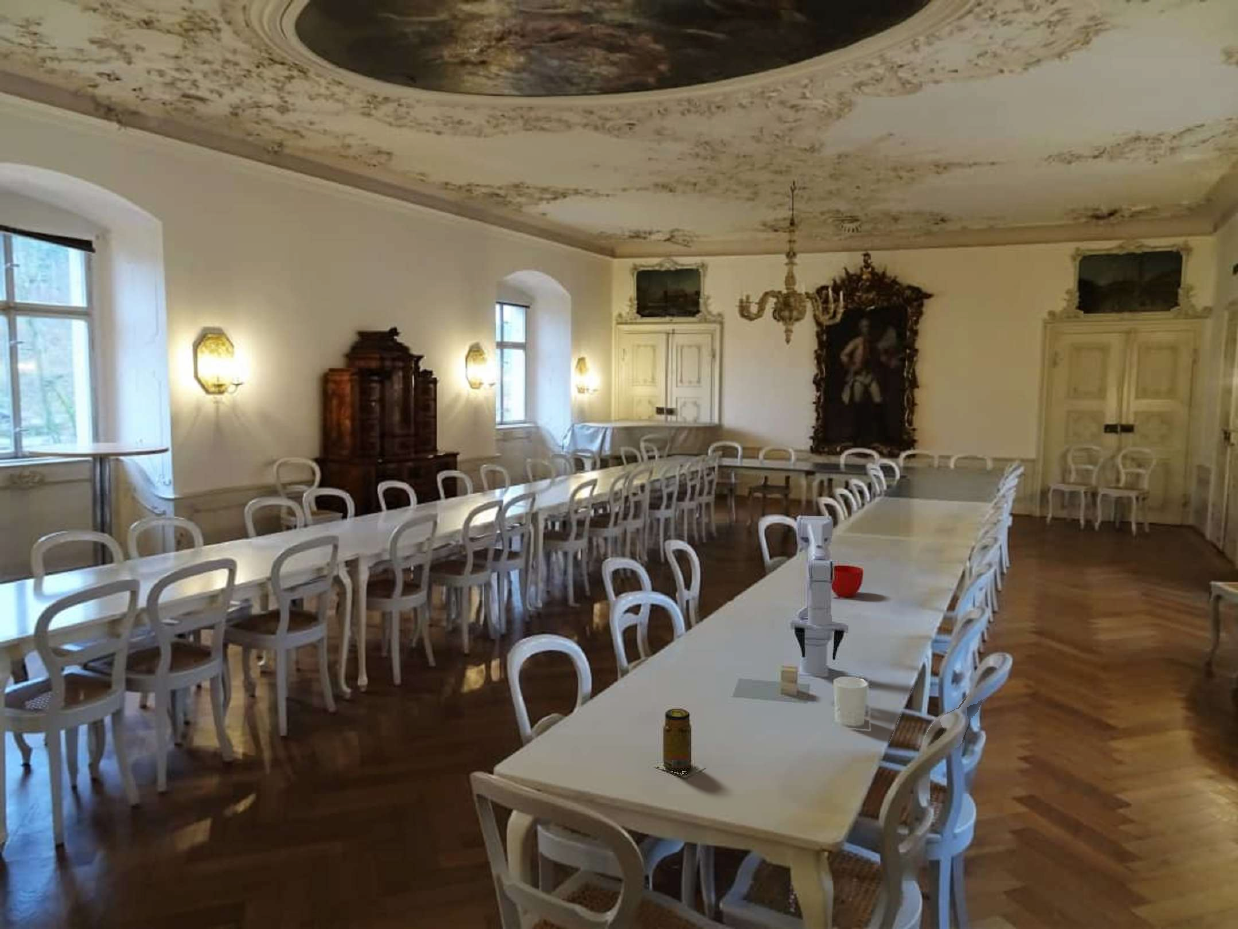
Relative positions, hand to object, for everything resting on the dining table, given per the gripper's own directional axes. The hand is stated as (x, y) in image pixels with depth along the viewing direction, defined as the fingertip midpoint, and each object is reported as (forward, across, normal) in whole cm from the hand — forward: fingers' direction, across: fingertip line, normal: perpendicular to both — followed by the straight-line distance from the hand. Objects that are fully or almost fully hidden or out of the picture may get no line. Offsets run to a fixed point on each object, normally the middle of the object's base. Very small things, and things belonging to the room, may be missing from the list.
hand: (818, 657), depth 229 cm
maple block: (+10, -7, 0) cm, 12 cm away
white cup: (+10, +8, -16) cm, 21 cm away
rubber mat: (+10, -12, 0) cm, 16 cm away
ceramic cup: (+11, +4, +108) cm, 109 cm away
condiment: (+10, -27, -50) cm, 58 cm away
